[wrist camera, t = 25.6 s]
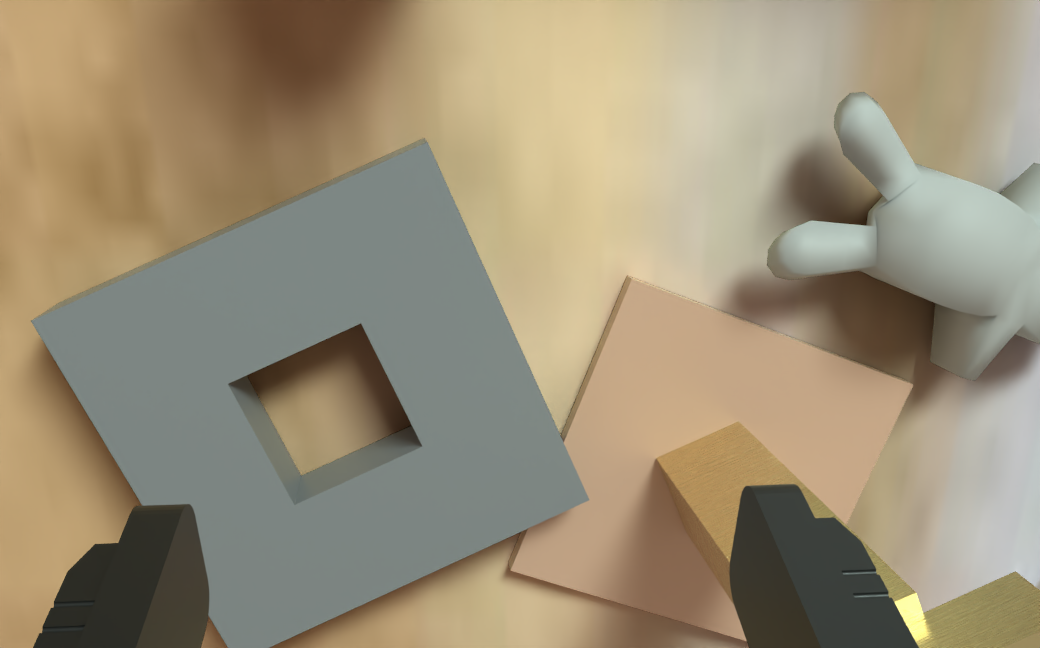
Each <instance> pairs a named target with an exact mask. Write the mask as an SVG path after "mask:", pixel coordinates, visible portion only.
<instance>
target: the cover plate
mask: <svg viewBox="0 0 1040 648" xmlns="http://www.w3.org/2000/svg"><path fill="white" fill-rule="evenodd" d="M31 322H32V323H33V325H34V327H35V328H36V330H37V332H38V333H39V335H40V337H41V338H42V340H43V342H44V343H45V345H46V347H47V348H48V350H49V352H50V353H51V355H52V357H53V358H54V360H55V361H56V363H57V365H58V366H59V368H60V370H61V371H62V373H63V375H64V376H65V378H66V380H67V381H68V383H69V385H70V386H71V388H72V390H73V391H74V393H75V395H76V396H77V398H78V400H79V401H80V403H81V405H82V406H83V408H84V410H85V411H86V413H87V415H88V416H89V418H90V420H91V421H92V423H93V425H94V426H95V428H96V430H97V431H98V433H99V434H100V436H101V438H102V439H103V441H104V443H105V444H106V446H107V448H108V449H109V451H110V453H111V454H112V456H113V458H114V459H115V461H116V463H117V464H118V466H119V468H120V469H121V471H122V473H123V474H124V476H125V478H126V479H127V481H128V483H129V484H130V486H131V488H132V489H133V491H134V493H135V494H136V496H137V498H138V499H139V501H140V503H141V504H142V506H147V505H175V504H190V505H191V506H192V508H193V510H194V513H195V517H196V522H197V527H198V532H199V537H200V542H201V547H202V552H203V557H204V562H205V567H206V572H207V577H208V583H209V613H208V615H209V617H210V619H211V620H212V622H213V624H214V625H215V627H216V629H217V630H218V632H219V634H220V635H221V637H222V639H223V640H224V642H225V644H226V645H227V647H228V648H269V647H272V646H274V645H276V644H278V643H280V642H282V641H285V640H287V639H289V638H291V637H293V636H295V635H298V634H300V633H302V632H304V631H306V630H308V629H311V628H313V627H315V626H317V625H319V624H322V623H324V622H326V621H328V620H330V619H332V618H335V617H337V616H339V615H341V614H343V613H345V612H348V611H350V610H352V609H354V608H356V607H358V606H361V605H363V604H365V603H367V602H369V601H371V600H374V599H376V598H378V597H380V596H382V595H385V594H387V593H389V592H391V591H393V590H395V589H398V588H400V587H402V586H404V585H406V584H408V583H411V582H413V581H415V580H417V579H419V578H421V577H424V576H426V575H428V574H430V573H432V572H435V571H437V570H439V569H441V568H443V567H445V566H448V565H450V564H452V563H454V562H456V561H458V560H461V559H463V558H465V557H467V556H469V555H471V554H474V553H476V552H478V551H480V550H482V549H484V548H487V547H489V546H491V545H493V544H495V543H498V542H500V541H502V540H504V539H506V538H508V537H511V536H513V535H515V534H517V533H519V532H521V531H524V530H526V529H528V528H530V527H532V526H534V525H537V524H539V523H541V522H543V521H545V520H547V519H550V518H552V517H554V516H556V515H558V514H561V513H563V512H565V511H567V510H569V509H571V508H574V507H576V506H578V505H580V504H582V503H584V502H587V501H589V498H588V495H587V493H586V491H585V489H584V487H583V484H582V482H581V480H580V478H579V476H578V473H577V471H576V469H575V467H574V465H573V462H572V460H571V458H570V456H569V454H568V451H567V449H566V447H565V445H564V443H563V440H562V438H561V436H560V434H559V431H558V429H557V427H556V425H555V423H554V420H553V418H552V416H551V414H550V412H549V409H548V407H547V405H546V403H545V401H544V398H543V396H542V394H541V392H540V390H539V387H538V385H537V383H536V381H535V379H534V376H533V374H532V372H531V370H530V367H529V365H528V363H527V361H526V359H525V356H524V354H523V352H522V350H521V348H520V345H519V343H518V341H517V339H516V337H515V334H514V332H513V330H512V328H511V326H510V323H509V321H508V319H507V317H506V315H505V312H504V310H503V308H502V306H501V303H500V301H499V299H498V297H497V295H496V292H495V290H494V288H493V286H492V284H491V281H490V279H489V277H488V275H487V273H486V270H485V268H484V266H483V264H482V262H481V259H480V257H479V255H478V253H477V250H476V248H475V246H474V244H473V242H472V239H471V237H470V235H469V233H468V231H467V228H466V226H465V224H464V222H463V220H462V217H461V215H460V213H459V211H458V209H457V206H456V204H455V202H454V200H453V198H452V195H451V193H450V191H449V189H448V186H447V184H446V182H445V180H444V178H443V175H442V173H441V171H440V169H439V167H438V164H437V162H436V160H435V158H434V156H433V153H432V151H431V149H430V147H429V145H428V142H427V141H426V139H425V138H423V139H421V140H419V141H417V142H415V143H412V144H410V145H408V146H406V147H403V148H401V149H399V150H397V151H395V152H392V153H390V154H388V155H386V156H384V157H381V158H379V159H377V160H375V161H372V162H370V163H368V164H366V165H364V166H361V167H359V168H357V169H355V170H353V171H350V172H348V173H346V174H344V175H341V176H339V177H337V178H335V179H333V180H330V181H328V182H326V183H324V184H321V185H319V186H317V187H315V188H313V189H310V190H308V191H306V192H304V193H302V194H299V195H297V196H295V197H293V198H290V199H288V200H286V201H284V202H282V203H279V204H277V205H275V206H273V207H271V208H268V209H266V210H264V211H262V212H259V213H257V214H255V215H253V216H251V217H248V218H246V219H244V220H242V221H239V222H237V223H235V224H233V225H231V226H228V227H226V228H224V229H222V230H220V231H217V232H215V233H213V234H211V235H208V236H206V237H204V238H202V239H200V240H197V241H195V242H193V243H191V244H189V245H186V246H184V247H182V248H180V249H177V250H175V251H173V252H171V253H169V254H166V255H164V256H162V257H160V258H158V259H155V260H153V261H151V262H149V263H146V264H144V265H142V266H140V267H138V268H135V269H133V270H131V271H129V272H126V273H124V274H122V275H120V276H118V277H115V278H113V279H111V280H109V281H107V282H104V283H102V284H100V285H98V286H95V287H93V288H91V289H89V290H87V291H84V292H82V293H80V294H78V295H76V296H73V297H71V298H69V299H67V300H64V301H62V302H60V303H58V304H56V305H55V306H53V307H52V308H50V309H49V310H47V311H46V312H44V313H43V314H41V315H39V316H38V317H36V318H35V319H33V320H32V321H31ZM359 324H362V326H363V328H364V330H365V332H366V334H367V336H368V338H369V340H370V342H371V344H372V346H373V348H374V350H375V352H376V354H377V356H378V358H379V360H380V362H381V364H382V366H383V368H384V370H385V372H386V374H387V376H388V378H389V380H390V382H391V384H392V386H393V388H394V390H395V392H396V394H397V396H398V398H399V400H400V402H401V404H402V406H403V408H404V410H405V412H406V414H407V416H408V418H409V420H410V422H411V424H412V426H410V427H407V428H405V429H403V430H401V431H399V432H396V433H394V434H392V435H390V436H388V437H385V438H383V439H381V440H379V441H377V442H375V443H372V444H370V445H368V446H366V447H364V448H361V449H359V450H357V451H355V452H353V453H350V454H348V455H346V456H344V457H342V458H340V459H337V460H335V461H333V462H331V463H329V464H326V465H324V466H322V467H320V468H318V469H315V470H313V471H311V472H309V473H307V474H304V475H302V476H301V475H300V473H299V471H298V469H297V467H296V465H295V464H294V462H293V460H292V458H291V456H290V454H289V453H288V451H287V449H286V447H285V445H284V443H283V441H282V440H281V438H280V436H279V434H278V432H277V430H276V429H275V427H274V425H273V423H272V421H271V419H270V418H269V416H268V414H267V412H266V410H265V408H264V407H263V405H262V403H261V401H260V399H259V397H258V396H257V394H256V392H255V390H254V388H253V386H252V385H251V383H250V381H249V379H248V377H247V375H249V374H251V373H253V372H255V371H257V370H260V369H262V368H264V367H266V366H268V365H271V364H273V363H275V362H277V361H279V360H282V359H284V358H286V357H288V356H290V355H293V354H295V353H297V352H299V351H301V350H304V349H306V348H308V347H310V346H312V345H315V344H317V343H319V342H321V341H323V340H326V339H328V338H330V337H332V336H334V335H337V334H339V333H341V332H343V331H345V330H348V329H350V328H352V327H354V326H356V325H359Z"/></svg>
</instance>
